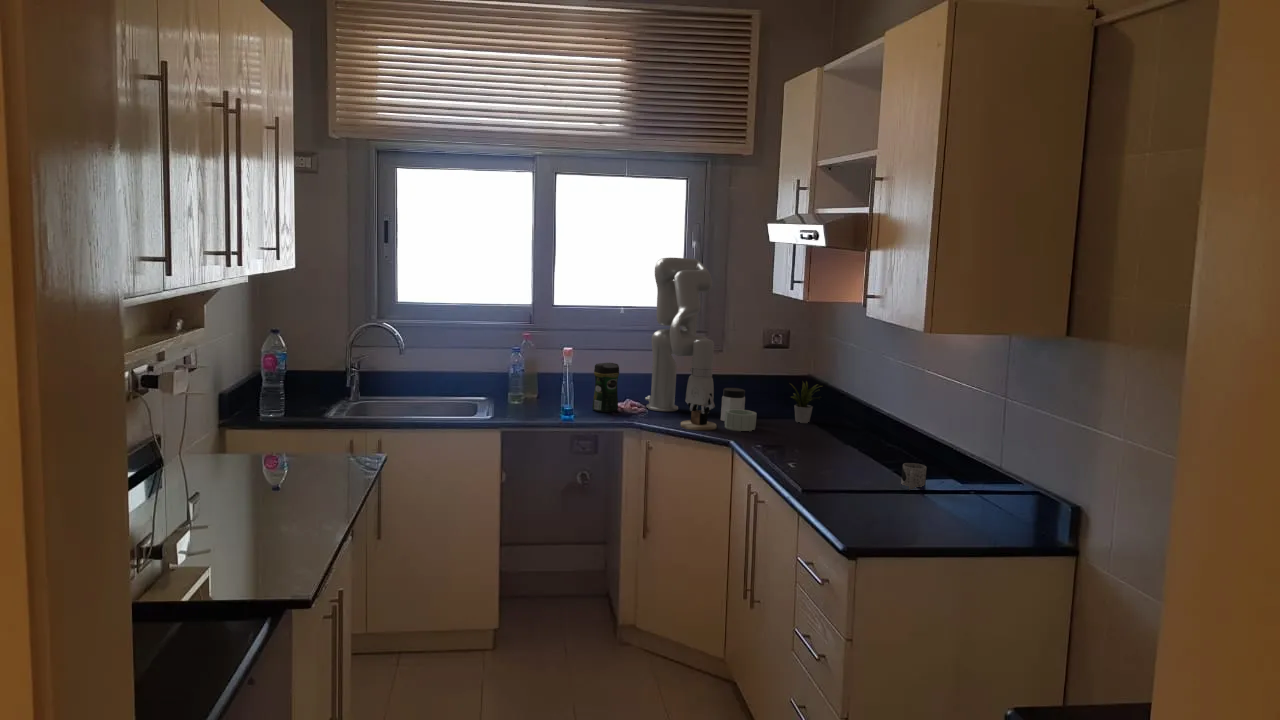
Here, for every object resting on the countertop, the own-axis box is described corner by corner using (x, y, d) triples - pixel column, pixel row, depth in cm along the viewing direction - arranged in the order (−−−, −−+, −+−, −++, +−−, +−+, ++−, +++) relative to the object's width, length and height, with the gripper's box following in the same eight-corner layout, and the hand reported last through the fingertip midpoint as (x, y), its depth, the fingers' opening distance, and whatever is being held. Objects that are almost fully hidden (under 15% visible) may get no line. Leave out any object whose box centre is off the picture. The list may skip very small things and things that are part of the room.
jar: (748, 422, 371) (750, 390, 370) (732, 423, 366) (735, 392, 364) (731, 417, 378) (733, 387, 376) (716, 419, 373) (718, 388, 371)
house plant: (830, 425, 372) (834, 383, 370) (798, 426, 368) (801, 383, 365) (811, 418, 386) (814, 377, 383) (780, 419, 381) (783, 377, 379)
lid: (673, 425, 357) (674, 410, 356) (698, 422, 366) (699, 407, 365) (698, 432, 348) (699, 416, 347) (723, 428, 356) (724, 413, 356)
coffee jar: (608, 407, 385) (610, 360, 382) (621, 411, 379) (623, 363, 376) (588, 409, 379) (590, 361, 376) (601, 413, 373) (603, 364, 370)
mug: (902, 484, 289) (904, 461, 288) (925, 487, 286) (927, 465, 285) (898, 491, 279) (900, 468, 278) (922, 495, 277) (924, 472, 276)
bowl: (718, 427, 358) (719, 410, 357) (738, 424, 366) (739, 408, 365) (741, 432, 350) (742, 416, 349) (761, 429, 358) (762, 413, 357)
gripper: (678, 370, 358) (675, 419, 360) (711, 377, 345) (708, 428, 348) (692, 369, 363) (689, 418, 365) (725, 375, 351) (722, 426, 353)
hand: (698, 422), depth 356 cm, fingers closed on lid, 4 cm apart
